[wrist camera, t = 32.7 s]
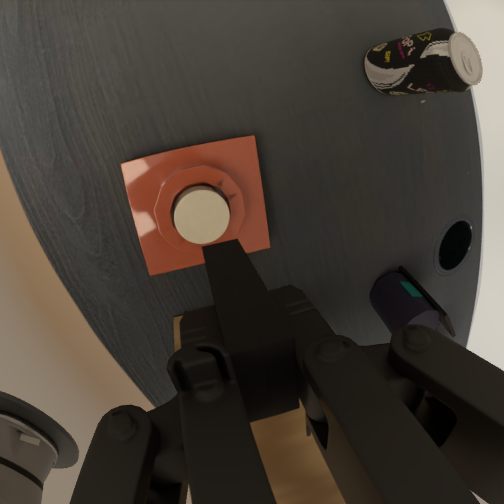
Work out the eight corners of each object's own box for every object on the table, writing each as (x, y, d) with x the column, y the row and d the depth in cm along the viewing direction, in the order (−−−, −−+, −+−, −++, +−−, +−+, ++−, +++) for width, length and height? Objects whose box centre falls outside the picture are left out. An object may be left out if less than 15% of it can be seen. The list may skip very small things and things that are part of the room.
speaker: (411, 255, 34) (462, 300, 25) (413, 288, 37) (458, 334, 28) (362, 280, 35) (407, 335, 25) (368, 312, 37) (407, 366, 28)
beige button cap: (180, 240, 23) (181, 249, 22) (169, 191, 22) (168, 196, 20) (229, 229, 24) (234, 237, 22) (220, 180, 22) (224, 184, 21)
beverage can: (363, 93, 26) (452, 86, 15) (356, 43, 24) (440, 16, 13) (404, 97, 27) (490, 97, 16) (398, 51, 25) (480, 36, 14)
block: (197, 381, 34) (259, 625, 7) (173, 317, 30) (230, 647, 3) (276, 361, 35) (390, 583, 8) (266, 294, 31) (438, 577, 4)
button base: (151, 266, 27) (148, 285, 24) (124, 161, 23) (115, 165, 20) (264, 239, 29) (277, 255, 25) (248, 135, 25) (260, 134, 21)
